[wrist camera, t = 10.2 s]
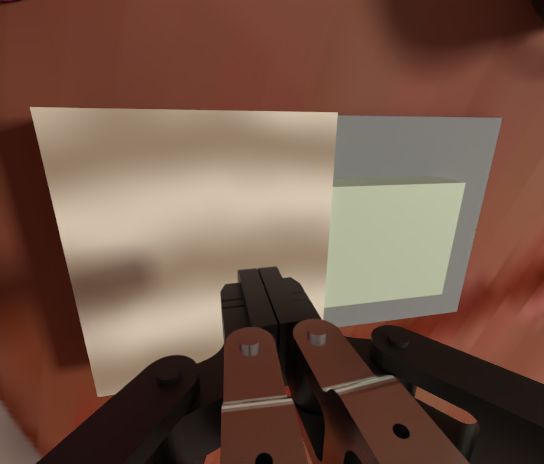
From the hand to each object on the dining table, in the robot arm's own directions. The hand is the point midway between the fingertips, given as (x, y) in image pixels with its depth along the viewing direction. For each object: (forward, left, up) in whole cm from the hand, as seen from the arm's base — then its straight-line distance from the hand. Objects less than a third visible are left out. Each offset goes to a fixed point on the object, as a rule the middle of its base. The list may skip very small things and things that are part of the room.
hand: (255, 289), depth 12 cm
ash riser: (+1, -2, -9) cm, 10 cm away
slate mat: (+1, +12, -9) cm, 16 cm away
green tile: (+1, +10, -9) cm, 13 cm away
